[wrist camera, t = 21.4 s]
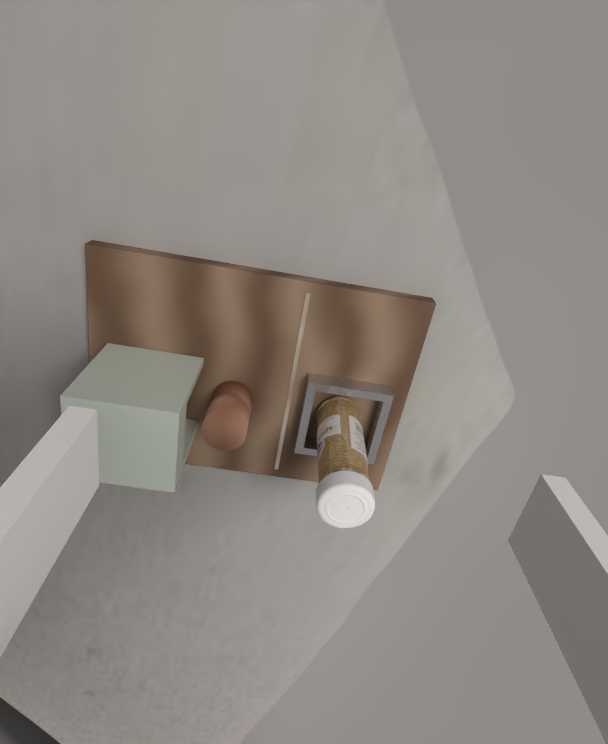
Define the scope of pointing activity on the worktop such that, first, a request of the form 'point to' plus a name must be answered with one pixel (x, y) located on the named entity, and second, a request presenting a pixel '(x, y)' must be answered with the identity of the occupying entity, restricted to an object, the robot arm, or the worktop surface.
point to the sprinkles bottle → (342, 465)
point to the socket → (352, 390)
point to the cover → (139, 413)
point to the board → (257, 347)
